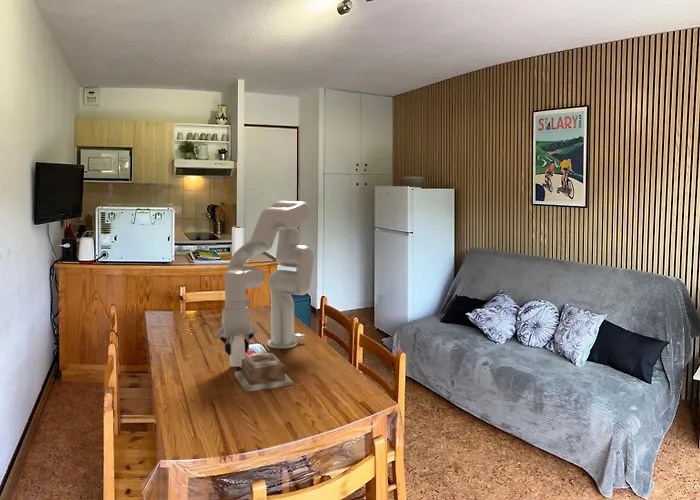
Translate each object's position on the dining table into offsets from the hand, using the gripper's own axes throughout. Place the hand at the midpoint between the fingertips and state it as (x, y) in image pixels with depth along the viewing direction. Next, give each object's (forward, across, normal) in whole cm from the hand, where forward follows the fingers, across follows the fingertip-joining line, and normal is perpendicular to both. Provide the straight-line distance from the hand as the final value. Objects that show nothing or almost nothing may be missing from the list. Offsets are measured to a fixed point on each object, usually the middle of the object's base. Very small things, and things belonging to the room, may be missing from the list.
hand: (237, 352), depth 193 cm
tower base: (+6, -5, +16) cm, 17 cm away
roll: (+5, 0, 0) cm, 5 cm away
